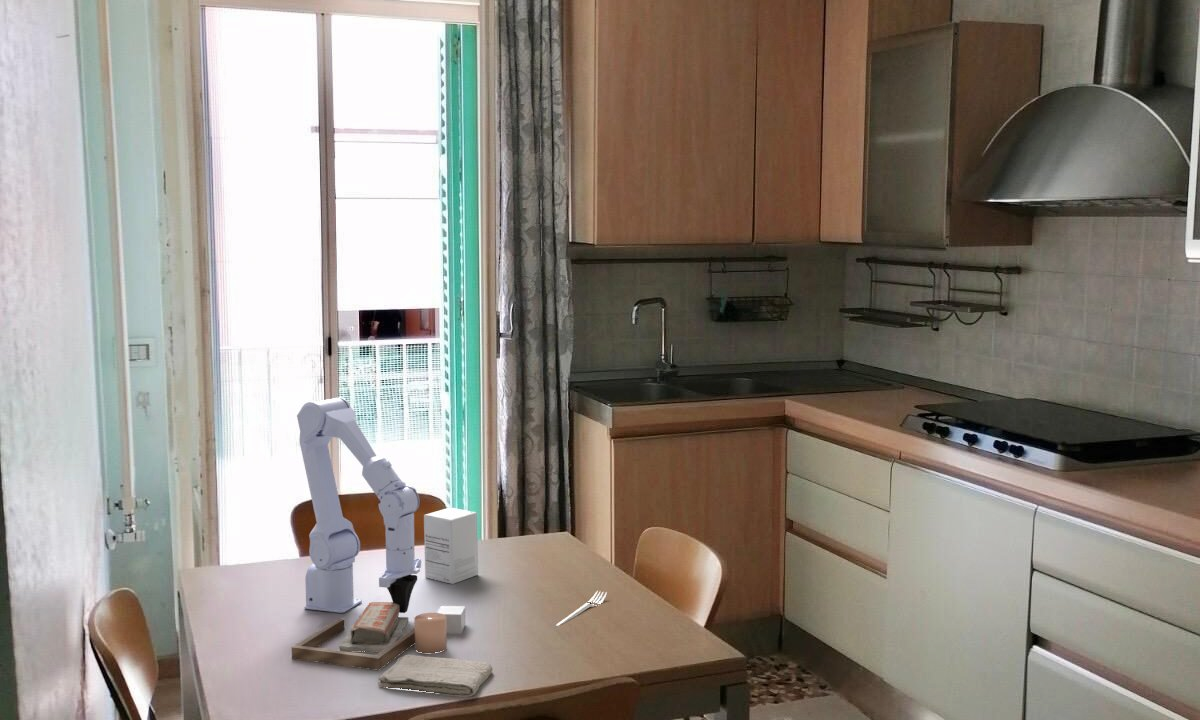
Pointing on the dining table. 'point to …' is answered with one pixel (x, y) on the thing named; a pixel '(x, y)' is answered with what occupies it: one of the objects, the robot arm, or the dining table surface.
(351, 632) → the packaged product
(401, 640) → the open wooden frame
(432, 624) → the peach pillar candle
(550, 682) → the dining table surface
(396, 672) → the washcloth
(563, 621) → the fork
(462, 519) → the supplement box
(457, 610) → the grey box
